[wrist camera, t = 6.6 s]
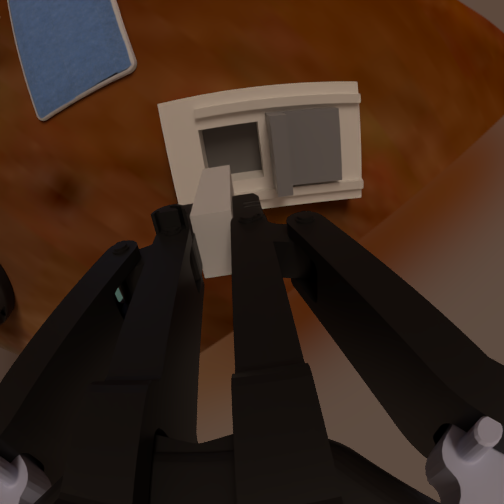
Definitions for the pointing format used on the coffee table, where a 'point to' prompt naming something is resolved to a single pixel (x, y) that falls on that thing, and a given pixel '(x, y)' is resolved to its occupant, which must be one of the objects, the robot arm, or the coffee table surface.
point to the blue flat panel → (69, 49)
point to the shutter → (304, 147)
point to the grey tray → (256, 139)
